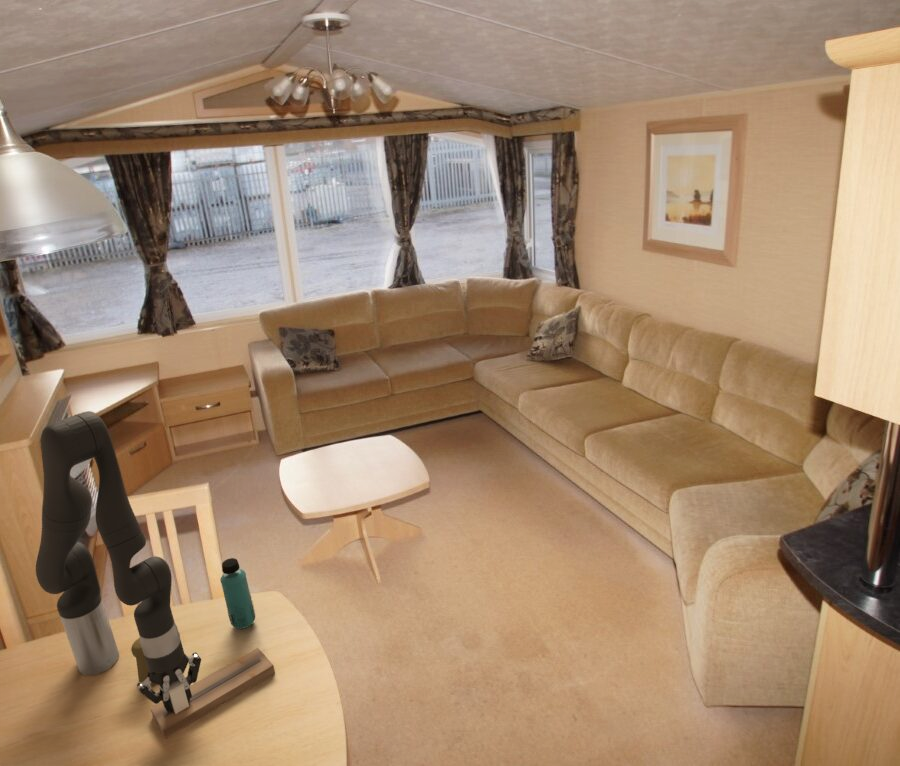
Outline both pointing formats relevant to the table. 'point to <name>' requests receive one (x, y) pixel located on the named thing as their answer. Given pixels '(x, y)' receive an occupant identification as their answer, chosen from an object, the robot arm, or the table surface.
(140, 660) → the cork
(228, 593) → the beverage bottle
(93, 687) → the table surface
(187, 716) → the console track
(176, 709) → the fader tab
